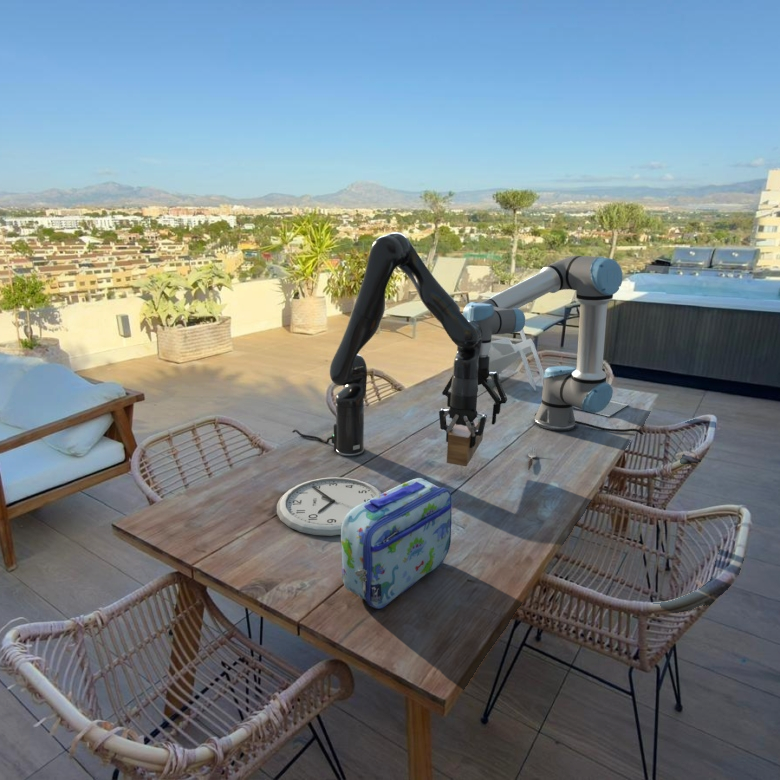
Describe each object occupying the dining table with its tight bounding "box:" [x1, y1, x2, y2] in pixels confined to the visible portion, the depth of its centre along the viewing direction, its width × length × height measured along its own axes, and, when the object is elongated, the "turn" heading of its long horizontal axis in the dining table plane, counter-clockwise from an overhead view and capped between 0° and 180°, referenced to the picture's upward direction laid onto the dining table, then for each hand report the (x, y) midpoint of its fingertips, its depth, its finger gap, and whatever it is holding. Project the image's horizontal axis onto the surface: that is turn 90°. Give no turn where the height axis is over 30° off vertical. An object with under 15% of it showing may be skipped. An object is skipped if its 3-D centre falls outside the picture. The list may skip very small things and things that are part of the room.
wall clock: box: [276, 476, 383, 537], centre depth 142 cm, size 30×2×30 cm
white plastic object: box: [488, 328, 545, 391], centre depth 258 cm, size 37×45×31 cm
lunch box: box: [340, 477, 452, 610], centre depth 110 cm, size 26×11×21 cm, turn 134°
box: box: [446, 412, 485, 467], centre depth 161 cm, size 22×6×9 cm, turn 158°
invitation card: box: [573, 400, 629, 418], centre depth 226 cm, size 21×1×15 cm
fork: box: [527, 446, 538, 471], centre depth 171 cm, size 3×16×2 cm, turn 160°
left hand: (460, 445), depth 155 cm, fingers closed on box, 6 cm apart
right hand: (472, 419), depth 166 cm, fingers open, 13 cm apart
